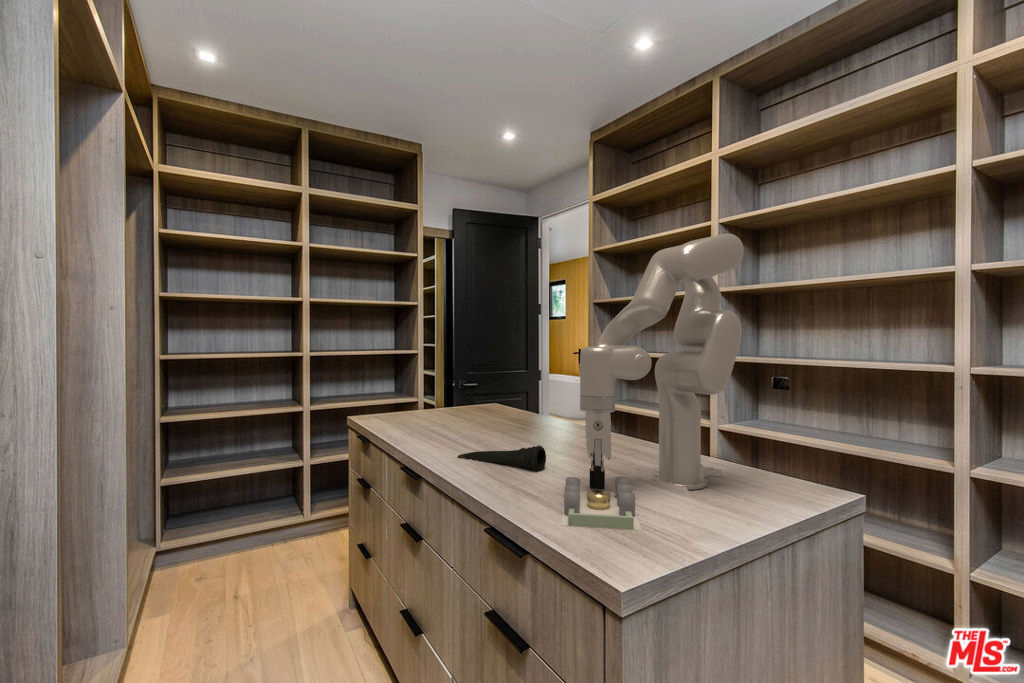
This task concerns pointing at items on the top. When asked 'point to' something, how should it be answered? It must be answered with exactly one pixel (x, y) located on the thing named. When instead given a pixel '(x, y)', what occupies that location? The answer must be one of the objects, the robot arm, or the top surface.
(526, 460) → the tool
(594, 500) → the gold short round piece
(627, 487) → the board
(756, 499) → the top surface
